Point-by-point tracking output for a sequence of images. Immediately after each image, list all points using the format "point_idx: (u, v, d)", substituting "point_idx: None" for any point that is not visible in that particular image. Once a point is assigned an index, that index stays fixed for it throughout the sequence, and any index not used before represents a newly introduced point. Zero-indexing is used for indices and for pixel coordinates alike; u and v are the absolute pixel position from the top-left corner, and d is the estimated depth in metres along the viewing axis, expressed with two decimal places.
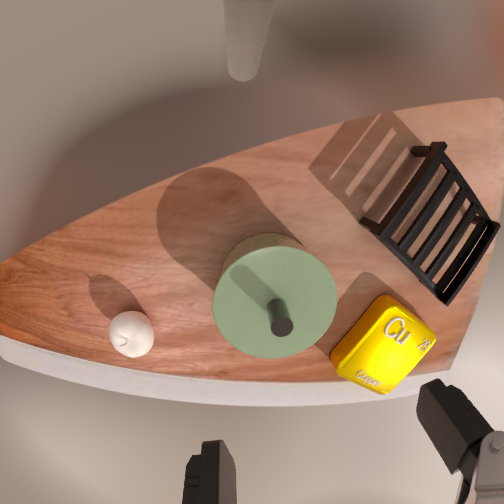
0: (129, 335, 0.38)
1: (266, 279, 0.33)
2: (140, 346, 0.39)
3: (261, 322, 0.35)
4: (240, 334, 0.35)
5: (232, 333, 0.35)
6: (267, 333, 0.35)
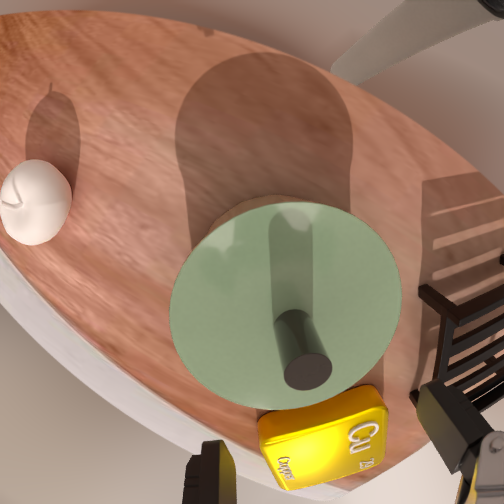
0: (27, 198, 0.17)
1: (319, 270, 0.17)
2: (29, 227, 0.18)
3: (250, 332, 0.18)
4: (200, 329, 0.17)
5: (188, 317, 0.17)
6: (244, 355, 0.18)
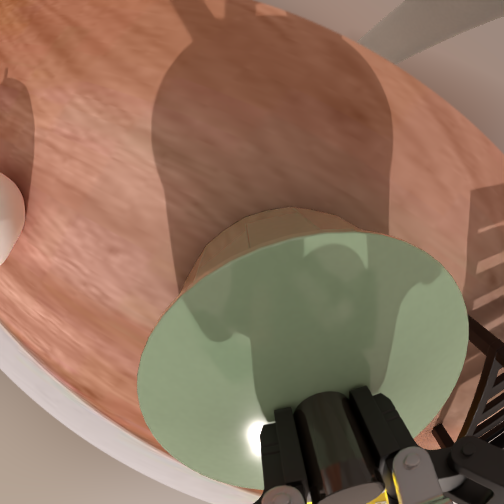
0: None
1: (369, 337, 0.10)
2: None
3: (259, 421, 0.11)
4: (185, 417, 0.10)
5: (166, 402, 0.10)
6: (249, 444, 0.11)
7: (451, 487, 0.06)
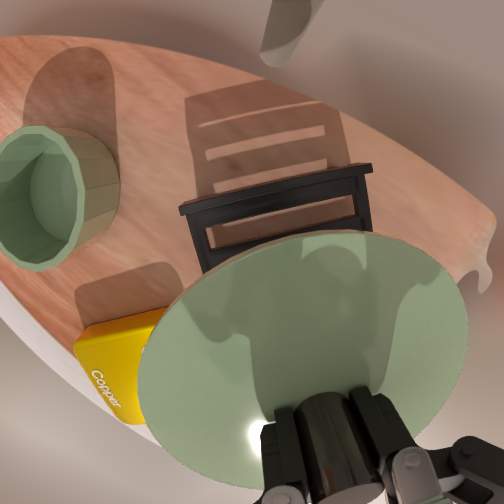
0: None
1: (369, 338, 0.10)
2: None
3: (259, 421, 0.11)
4: (185, 417, 0.10)
5: (166, 403, 0.10)
6: (249, 444, 0.11)
7: (451, 487, 0.06)
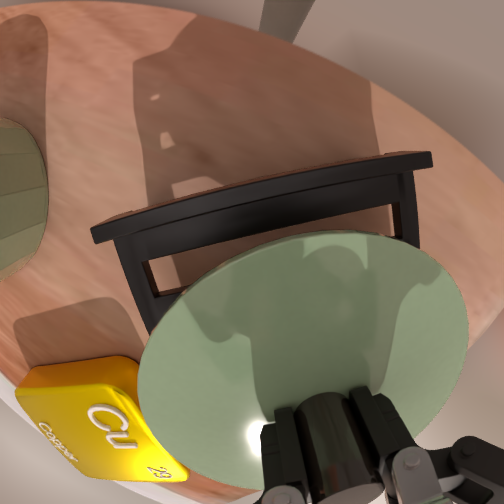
0: None
1: (369, 338, 0.10)
2: None
3: (259, 422, 0.11)
4: (185, 417, 0.10)
5: (167, 403, 0.10)
6: (249, 444, 0.11)
7: (451, 487, 0.06)
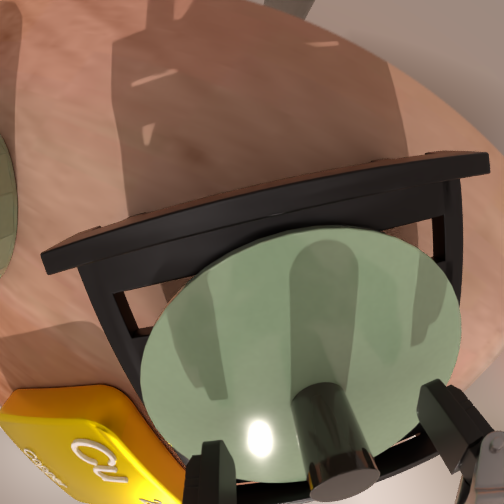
0: None
1: (363, 330, 0.10)
2: None
3: (257, 412, 0.11)
4: (186, 407, 0.11)
5: (168, 393, 0.11)
6: (248, 435, 0.12)
7: None
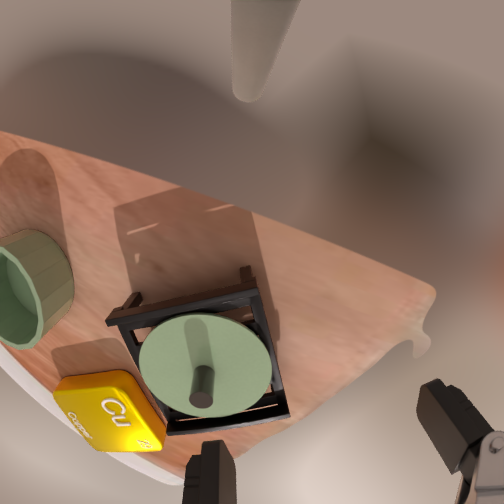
0: None
1: (214, 347, 0.30)
2: None
3: (181, 375, 0.31)
4: (155, 372, 0.30)
5: (149, 366, 0.30)
6: (180, 386, 0.31)
7: None
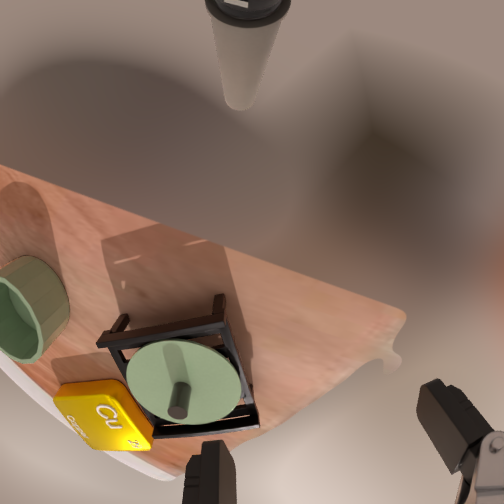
0: None
1: (189, 367, 0.33)
2: None
3: (163, 389, 0.34)
4: (141, 385, 0.34)
5: (135, 380, 0.34)
6: (162, 398, 0.34)
7: None
